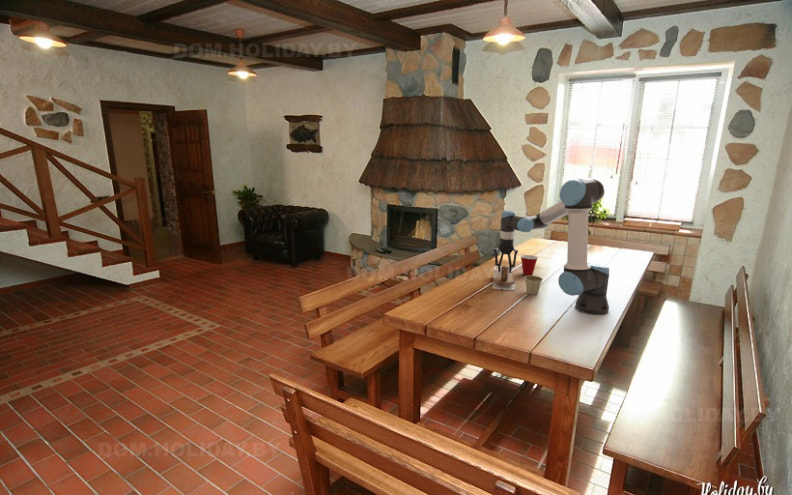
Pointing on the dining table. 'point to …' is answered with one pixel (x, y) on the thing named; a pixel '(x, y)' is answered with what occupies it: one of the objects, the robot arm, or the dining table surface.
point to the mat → (503, 287)
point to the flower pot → (533, 284)
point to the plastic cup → (528, 264)
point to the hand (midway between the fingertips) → (504, 277)
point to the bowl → (498, 273)
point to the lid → (504, 278)
